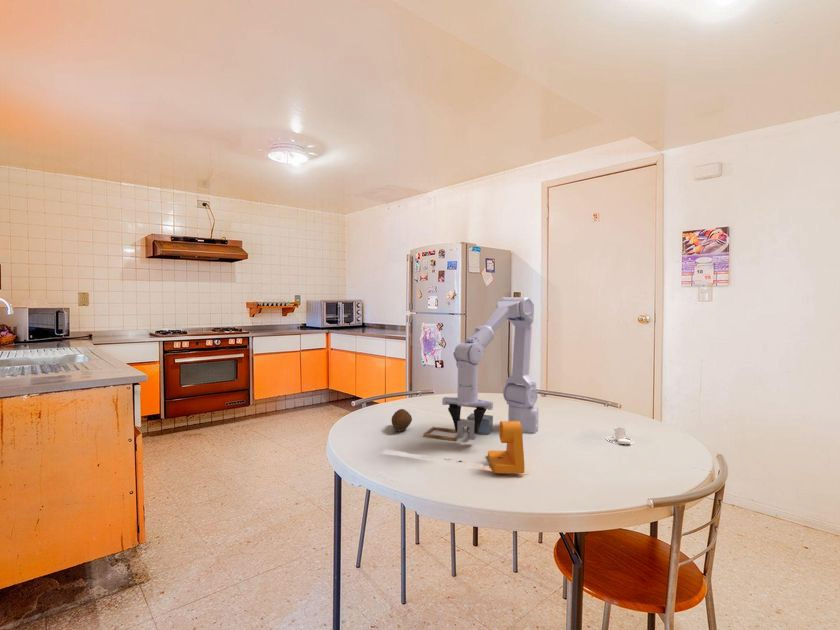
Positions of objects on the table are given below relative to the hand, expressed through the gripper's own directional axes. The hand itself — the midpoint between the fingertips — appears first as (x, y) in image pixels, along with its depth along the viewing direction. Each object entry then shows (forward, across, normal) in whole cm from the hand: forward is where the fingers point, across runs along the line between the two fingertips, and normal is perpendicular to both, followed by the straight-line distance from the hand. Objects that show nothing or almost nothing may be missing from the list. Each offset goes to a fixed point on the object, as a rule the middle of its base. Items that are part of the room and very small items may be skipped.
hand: (466, 431), depth 125 cm
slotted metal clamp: (+2, 0, 0) cm, 2 cm away
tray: (+5, -9, +6) cm, 12 cm away
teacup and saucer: (+6, +39, +25) cm, 46 cm away
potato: (+5, -25, +9) cm, 27 cm away
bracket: (+5, +13, -10) cm, 17 cm away
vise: (+5, 0, +10) cm, 11 cm away
